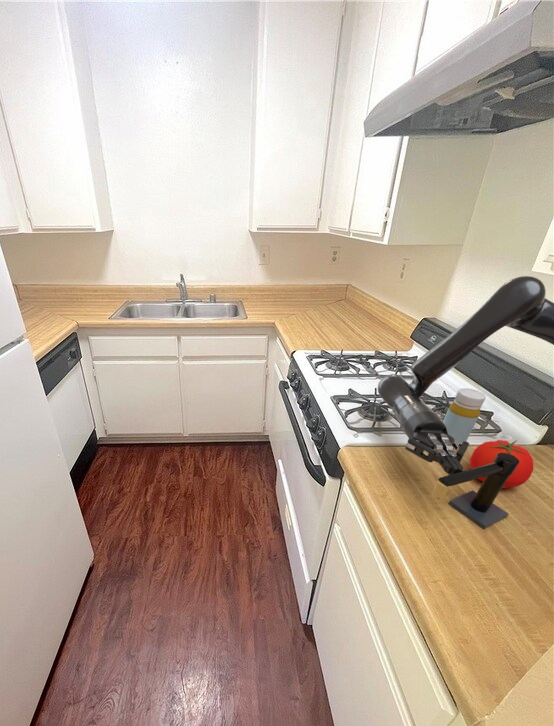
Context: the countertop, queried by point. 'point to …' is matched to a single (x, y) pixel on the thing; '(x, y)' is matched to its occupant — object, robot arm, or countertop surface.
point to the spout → (476, 473)
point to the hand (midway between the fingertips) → (456, 472)
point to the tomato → (490, 450)
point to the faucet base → (482, 502)
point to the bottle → (463, 413)
